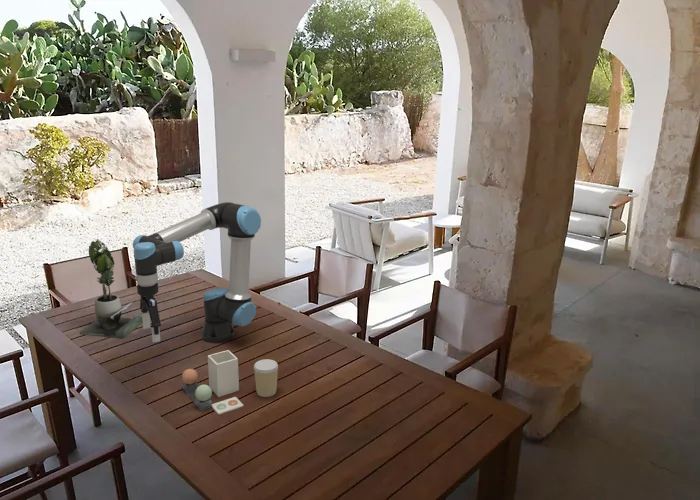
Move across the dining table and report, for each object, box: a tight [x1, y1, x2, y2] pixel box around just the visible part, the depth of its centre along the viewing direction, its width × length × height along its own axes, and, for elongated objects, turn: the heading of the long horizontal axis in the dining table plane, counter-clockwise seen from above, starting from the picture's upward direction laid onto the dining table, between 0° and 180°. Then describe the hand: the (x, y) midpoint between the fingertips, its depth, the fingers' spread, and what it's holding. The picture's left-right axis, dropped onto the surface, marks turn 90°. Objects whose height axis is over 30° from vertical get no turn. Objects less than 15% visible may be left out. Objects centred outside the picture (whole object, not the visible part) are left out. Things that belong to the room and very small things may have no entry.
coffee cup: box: [253, 358, 279, 398], centre depth 223 cm, size 9×9×12 cm
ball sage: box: [195, 384, 213, 401], centre depth 213 cm, size 6×6×6 cm
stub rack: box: [182, 381, 213, 412], centre depth 220 cm, size 5×19×3 cm, turn 36°
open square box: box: [207, 349, 240, 398], centre depth 224 cm, size 9×9×14 cm
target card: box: [211, 396, 245, 415], centre depth 215 cm, size 10×7×1 cm
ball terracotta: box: [181, 368, 199, 384], centre depth 224 cm, size 6×6×6 cm
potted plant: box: [79, 238, 143, 339], centre depth 269 cm, size 22×19×45 cm
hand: (151, 334), depth 222 cm, fingers open, 13 cm apart
